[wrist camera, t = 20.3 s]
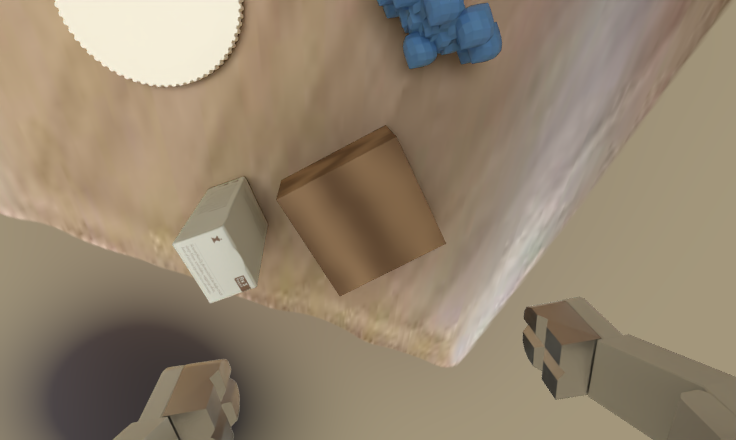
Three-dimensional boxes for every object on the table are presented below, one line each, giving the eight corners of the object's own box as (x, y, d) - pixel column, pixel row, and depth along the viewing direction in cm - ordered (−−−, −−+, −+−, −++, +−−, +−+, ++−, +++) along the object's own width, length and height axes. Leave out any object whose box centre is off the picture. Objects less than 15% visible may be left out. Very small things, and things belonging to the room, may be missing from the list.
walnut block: (385, 124, 39) (396, 136, 34) (429, 219, 44) (446, 243, 39) (281, 179, 40) (276, 199, 35) (336, 266, 45) (339, 296, 39)
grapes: (340, 32, 35) (351, 25, 24) (376, -45, 33) (406, -91, 22) (444, 95, 38) (496, 113, 28) (483, 29, 36) (555, 20, 25)
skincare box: (206, 188, 39) (163, 243, 28) (247, 173, 39) (221, 222, 28) (233, 239, 42) (204, 307, 31) (272, 225, 42) (258, 288, 31)
